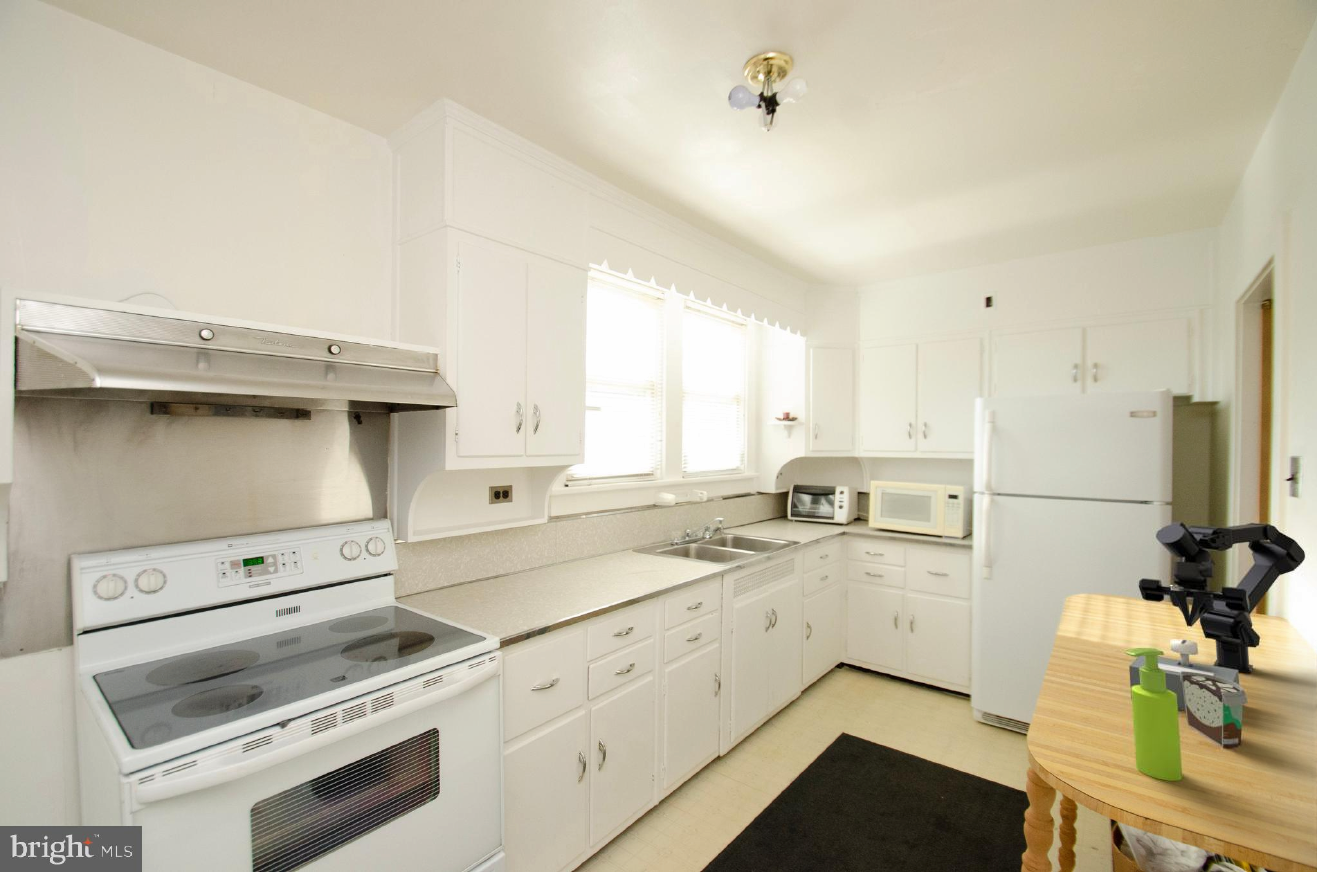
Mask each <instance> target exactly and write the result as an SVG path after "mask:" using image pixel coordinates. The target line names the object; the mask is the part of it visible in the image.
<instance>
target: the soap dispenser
mask: <svg viewBox="0 0 1317 872" xmlns="http://www.w3.org/2000/svg"><path fill="white" fill-rule="evenodd" d="M1124 654H1126V655H1128V656H1131V657H1134V658H1137V657H1139V656H1144V655H1145V666H1143V667H1140V668H1139V672H1140V685H1135V686H1132V687H1131V686H1130V694H1131V693H1132V699H1131V706H1132V721H1133V723H1132V724H1133V737H1134V739H1133V740H1134V751H1135V753H1134V754H1135V767H1136V769H1137V770H1138V771H1139V772H1141V773H1143V774H1144V775H1146V776H1149V777H1152V778H1155V779H1158V780H1163V781H1173V782H1174V781H1180V780H1182V778H1183V768H1182V753H1181V740H1180V739H1181V737H1180V722H1179V721H1180V720H1179V711H1178V710H1179V709H1178V706H1177V695H1176V694H1175V693H1174V692H1172V691H1170V690H1167V689H1166V675H1165V671H1164V670H1162V669H1160V668H1158V656H1165V654H1164V651H1162V650H1161V649H1156V648H1153V647H1136V648H1131V649H1127V650H1125V651H1124Z"/></svg>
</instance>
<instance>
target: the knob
mask: <svg viewBox="0 0 1317 872" xmlns="http://www.w3.org/2000/svg"><path fill="white" fill-rule="evenodd" d="M1169 642H1170V643H1169V644H1170V651H1172V652H1174V653H1177V654H1179V655H1180V656H1179V657H1180V660H1181V665H1182V666H1187V667H1190V664H1189V662H1190V655H1192V656H1193V655H1195V656H1196V655H1198V654H1199V649H1198V643H1197V642H1196V641H1192V640H1188V639H1179V638H1171V639H1170V640H1169Z"/></svg>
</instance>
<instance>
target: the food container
mask: <svg viewBox="0 0 1317 872" xmlns="http://www.w3.org/2000/svg"><path fill="white" fill-rule="evenodd" d="M1180 681H1182V685H1183V692H1184V700H1185V708H1186V711H1185V713H1186V721H1187V727H1189V728H1191V729H1193V730H1194V731H1196V732H1198V733H1199V734H1200V735H1202V736H1204V737H1205V738H1207V739H1208V740H1210V741H1211V742H1213V743H1214V744H1216V745H1217V746H1219V747H1220V748H1222V749H1235V748H1239V747H1241V746H1242V734H1243V733H1242V731H1243V730H1242V729H1243V728H1242V727H1243V706H1244V705H1246V704H1248V701H1249V700H1248V697H1247V695H1246V691H1245V690H1244V689H1243V687H1242V686H1241V685H1240V683H1239V684H1237V683H1235V682H1232V681H1230V680H1227V679H1224V678H1220V677H1216V676H1212V675H1207V674H1202V673H1195V672H1185V671H1181V674H1180Z"/></svg>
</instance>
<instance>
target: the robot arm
mask: <svg viewBox="0 0 1317 872" xmlns="http://www.w3.org/2000/svg"><path fill="white" fill-rule="evenodd" d="M1155 537H1156V540H1157V541H1158V542H1159V543H1160V544H1161V545H1162V547H1164V549H1166V550H1167V552H1168V553H1169V554H1170V555H1171V556H1173V557H1175V558H1178V561H1173V567H1172V570H1173V572H1172V573H1173V584H1170V586H1164V585H1163V584H1162V580H1161V579H1154V578H1141V579H1140V580H1139V581H1138V588H1139V591H1140V595H1141V597H1142V599H1143V600H1144V601H1148V602H1156V603H1160V602H1163V601H1164V600H1165V596H1166V597H1170V601H1171V605H1172V606H1174V607H1177V608H1178V609H1179V610H1180V612H1181V614H1182V616H1183V619H1184V622H1185V624H1186V627H1191V628H1192V627H1193V626H1194V625H1195V624H1196V623H1197V622H1198V621H1199V624H1200V626H1201V630H1202V633H1203V635H1204V638H1205V639H1210V640H1213V641H1214V640H1215V649H1216V652H1215V653H1216V660H1215V661H1214V663H1213V666H1217V667H1223V668H1229V669H1235V670H1238V672H1240V673H1247V674H1252V670H1253V668H1254V664H1250V658H1249V657H1250V656H1249V648H1253V649H1254V648H1257V647H1259V645H1260V639H1261V636H1260V635H1259V634H1258V633H1257V632H1256V630H1254V629H1253V622H1252V618H1251V614H1252V612H1253V610H1254V609H1255V608H1256V607H1257V605H1258V604H1259V603H1260V602H1261V600H1262V599H1263V597H1264V596H1265V595H1266V594H1267V593H1268V591H1269V590H1270V589H1271V587H1272V586H1273V584H1274V583H1275V582H1276V580H1277V579H1279V577H1280V576H1282V575H1285V574H1288V573H1291V572H1294V571H1295V570H1297V568H1299V567H1300V566H1301V565H1302V563H1303V562H1304V561H1305V558H1306V553H1305V551H1304V549H1303V548H1302V547H1301V545H1300V544H1298V542H1297V541H1296V540H1295V539H1293V538H1292V537H1290V536H1288V535H1286V534H1285V533H1282V532H1281V531H1279V530H1278V529H1277V527H1276V526H1275V525H1272V524H1269V523H1259V522H1258V523H1255V522H1250V523H1246V524H1240V525H1233V526H1231V525H1229V526H1224V527H1223V526H1219V527H1217V526H1206V525H1195V524H1194V525H1190V526H1188V528H1187V526H1186V524H1184V523H1183V521H1172V523H1171V524H1169V525H1166V526H1163V527H1161V528H1160V529H1158V530H1157V531H1156V534H1155ZM1243 543H1244V544H1245V543H1248V546H1247V548H1248V549H1249V550H1250V551H1251V553H1252V558H1253V561H1254V563H1253V565H1252V566H1251V567H1250V569H1249V570H1248V571H1247V572H1246V574H1245V575H1244V576H1243V577H1242V579H1241V580H1240V581H1239V583H1237V585H1236V587H1235V586H1221V591H1217V590H1210V579H1211V578H1212V579H1215V578H1214V577H1215V566H1216V562H1215V560H1214V559H1213V558H1212V554H1211V553H1210V552H1209V551H1212V552H1213V551H1214V552H1224V551H1227V550H1229V549H1232V548H1233V545H1235V544H1243ZM1174 584H1175V585H1174ZM1188 599H1191V600H1192V604H1191V607H1190V605H1189V601H1188Z"/></svg>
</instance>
